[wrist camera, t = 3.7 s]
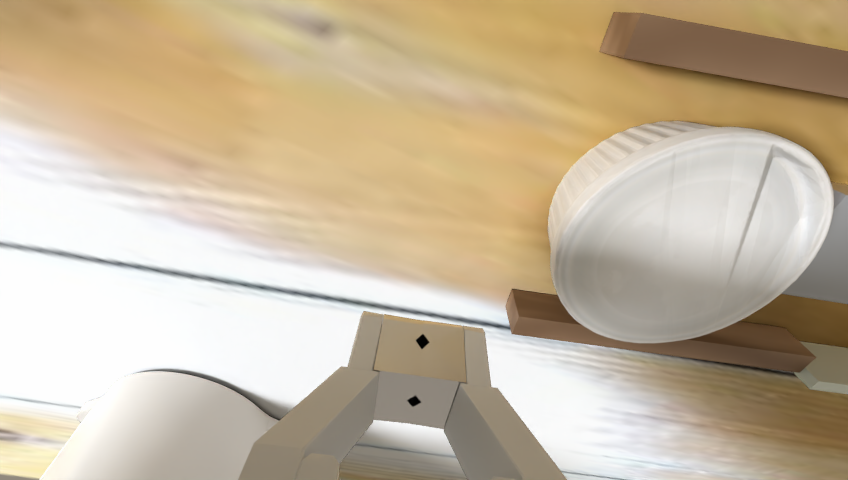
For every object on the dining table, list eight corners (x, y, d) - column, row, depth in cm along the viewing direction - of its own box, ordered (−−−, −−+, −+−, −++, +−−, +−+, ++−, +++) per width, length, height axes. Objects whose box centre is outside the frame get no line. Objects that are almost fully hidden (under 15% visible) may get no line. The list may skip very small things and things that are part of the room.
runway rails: (769, 342, 26) (799, 372, 24) (505, 305, 25) (511, 334, 22) (1017, 86, 16) (1101, 98, 14) (613, 12, 16) (641, 13, 13)
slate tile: (821, 278, 23) (860, 305, 21) (732, 264, 23) (763, 290, 21) (903, 193, 20) (959, 215, 18) (801, 174, 19) (846, 195, 17)
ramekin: (774, 213, 20) (868, 270, 16) (591, 309, 25) (625, 375, 20) (696, 45, 16) (793, 60, 12) (492, 196, 20) (507, 249, 16)
